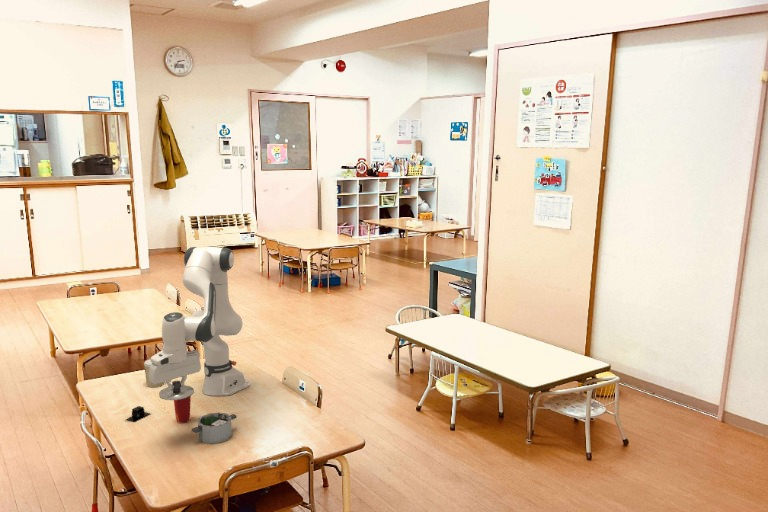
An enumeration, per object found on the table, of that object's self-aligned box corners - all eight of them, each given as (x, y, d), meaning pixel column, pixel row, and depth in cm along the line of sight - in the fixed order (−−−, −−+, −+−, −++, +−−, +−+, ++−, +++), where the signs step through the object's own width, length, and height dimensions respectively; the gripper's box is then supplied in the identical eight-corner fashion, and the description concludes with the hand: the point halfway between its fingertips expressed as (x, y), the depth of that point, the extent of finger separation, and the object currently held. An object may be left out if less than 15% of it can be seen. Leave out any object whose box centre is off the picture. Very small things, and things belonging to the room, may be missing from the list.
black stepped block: (132, 425, 247) (132, 415, 246) (120, 421, 250) (119, 411, 249) (155, 414, 258) (155, 404, 257) (143, 410, 261) (143, 401, 261)
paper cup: (196, 418, 254) (195, 387, 252) (184, 425, 247) (183, 394, 245) (181, 415, 257) (179, 384, 254) (169, 422, 249) (167, 391, 247)
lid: (183, 384, 243) (183, 373, 242) (200, 393, 234) (199, 382, 233) (153, 393, 233) (152, 381, 232) (169, 403, 225) (168, 391, 224)
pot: (226, 423, 250) (226, 407, 249) (244, 433, 241) (244, 417, 240) (185, 438, 236) (184, 422, 235) (202, 449, 227) (201, 432, 226)
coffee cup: (151, 380, 294) (150, 357, 292) (169, 381, 293) (168, 358, 291) (141, 387, 285) (140, 364, 283) (159, 389, 284) (158, 365, 282)
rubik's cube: (211, 435, 239) (210, 424, 238) (219, 430, 244) (219, 419, 243) (220, 438, 237) (220, 426, 236) (229, 433, 241) (228, 421, 241)
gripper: (195, 346, 240) (196, 378, 243) (146, 358, 226) (148, 392, 228) (203, 350, 236) (204, 383, 239) (153, 362, 221) (155, 397, 224)
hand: (176, 388), depth 233 cm, fingers closed on lid, 3 cm apart
